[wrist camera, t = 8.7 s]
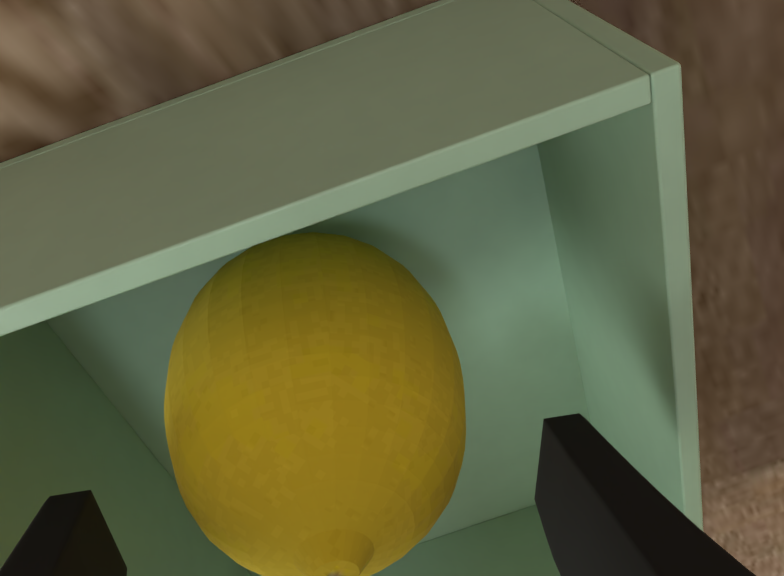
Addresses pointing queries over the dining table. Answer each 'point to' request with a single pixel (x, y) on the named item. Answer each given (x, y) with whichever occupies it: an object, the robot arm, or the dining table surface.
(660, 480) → the light green open box
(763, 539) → the dining table surface
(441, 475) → the lemon
